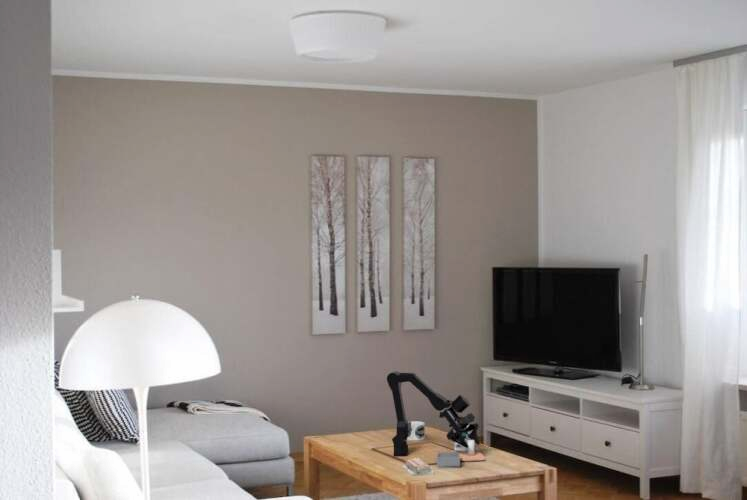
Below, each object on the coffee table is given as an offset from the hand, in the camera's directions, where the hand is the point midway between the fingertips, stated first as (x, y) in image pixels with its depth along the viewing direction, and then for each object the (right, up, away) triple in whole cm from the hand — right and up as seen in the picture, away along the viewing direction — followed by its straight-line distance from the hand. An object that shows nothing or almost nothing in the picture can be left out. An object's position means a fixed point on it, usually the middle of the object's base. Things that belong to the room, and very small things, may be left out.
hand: (473, 445), depth 454 cm
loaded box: (-12, -7, -10) cm, 17 cm away
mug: (-26, -7, +52) cm, 59 cm away
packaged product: (-26, -8, -18) cm, 33 cm away
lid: (-1, -7, +1) cm, 7 cm away
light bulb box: (-3, -7, +26) cm, 27 cm away
